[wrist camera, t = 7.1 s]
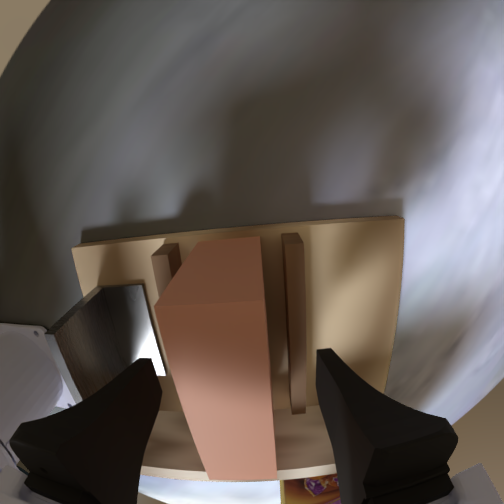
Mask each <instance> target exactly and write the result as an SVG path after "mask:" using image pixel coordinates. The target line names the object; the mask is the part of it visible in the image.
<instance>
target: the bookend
mask: <svg viewBox="0 0 504 504" xmlns="http://www.w3.org/2000/svg"><path fill="white" fill-rule="evenodd" d="M44 336H45V338H46V341H47V343H48V346H49V348H50V351H51V353H52V355H53V358H54V360H55V362H56V364H57V367H58V369H59V371H60V373H61V375H62V377H63V379H64V381H65V383H66V385H67V387H68V389H69V391H70V393H71V395H72V397H73V399H74V401H75V403H76V404H77V403H79V402H81V401H83V400H84V399H86V398H88V397H89V396H91V395H92V394H94V393H95V392H97V391H98V390H99V389H101V388H102V387H104V386H105V385H106V384H108V383H109V382H110V381H111V380H113V379H114V378H115V377H116V376H118V375H119V374H120V373H121V372H122V371H124V370H125V369H126V368H127V367H128V366H130V365H131V364H132V363H133V362H135V361H136V360H137V359H139V358H152V361H153V364H154V367H155V370H156V373H157V376H166V375H167V371H166V368H165V364H164V361H163V358H162V354H161V351H160V347H159V343H158V340H157V336H156V332H155V329H154V325H153V321H152V317H151V313H150V309H149V304H148V300H147V296H146V292H145V287H144V283H138V284H120V285H101V286H96V287H95V288H94V289H93V290H91V291H90V292H89V293H88V294H87V295H86V296H85V297H84V298H82V299H81V300H80V301H79V302H78V303H77V304H76V305H75V306H73V307H72V308H71V309H70V310H69V311H68V312H67V313H66V314H65V315H64V316H63V317H61V318H60V319H59V320H58V321H57V322H56V323H55V324H54V325H53V326H52V327H51V328H50V329H49V330H48V331H46V332H45V333H44Z"/></svg>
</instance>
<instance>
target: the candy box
mask: <svg viewBox="0 0 504 504" xmlns="http://www.w3.org/2000/svg"><path fill="white" fill-rule="evenodd" d="M280 494H281V504H341V500H340V492H339V484H338V478H337V473H335V474H329V475H322V476H315V477H307V478H298V479H288V480H280Z"/></svg>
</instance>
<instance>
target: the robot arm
mask: <svg viewBox="0 0 504 504" xmlns="http://www.w3.org/2000/svg"><path fill="white" fill-rule="evenodd" d="M46 331H47V330H46V329H45V328H44V327H42V326H32V325H19V324H7V323H0V504H137V495H138V486H139V479H140V473H141V467H142V462H143V457H144V453H145V449H146V446H147V443H148V440H149V437H150V435H151V432H152V429H153V426H154V423H155V420H156V418H157V415H158V412H159V408H160V403H161V398H162V393H163V391H162V388H161V385H160V382H159V379H158V376H157V373H156V370H155V367H154V364H153V361H152V358H139V359H137V360H136V361H135V362H133V363H132V364H131V365H130V366H128V367H127V368H126V369H125V370H124V371H122V372H121V373H120V374H119V375H118V376H116V377H115V378H114V379H113V380H111V381H110V382H109V383H108V384H106V385H105V386H104V387H102V388H101V389H99V390H98V391H97V392H95V393H94V394H92V395H91V396H89V397H88V398H86V399H84V400H83V401H81V402H79V403H77V404H76V403H75V401H74V399H73V397H72V395H71V393H70V391H69V389H68V387H67V385H66V383H65V381H64V379H63V377H62V375H61V373H60V371H59V369H58V367H57V364H56V362H55V360H54V358H53V355H52V353H51V351H50V348H49V346H48V343H47V341H46V338H45V336H44V333H45V332H46ZM37 332H38V333H37ZM315 385H316V391H317V397H318V402H319V406H320V409H321V413H322V416H323V419H324V422H325V425H326V429H327V432H328V435H329V438H330V441H331V445H332V449H333V454H334V459H335V465H336V471H337V478H338V484H339V492H340V500H341V504H503V502H502V500H501V498H500V496H499V494H498V492H497V490H496V488H495V487H494V485H493V483H492V481H491V480H490V478H489V476H488V474H487V472H486V470H485V469H484V467H483V465H482V464H481V463H478V464H476V465H474V466H472V467H470V468H468V469H466V470H464V471H462V472H460V473H458V474H456V475H455V476H453V477H452V478H451V479H450V478H449V476H448V472H449V471H450V468H449V466H448V465H447V461H448V460H449V458H450V456H451V455H452V453H453V451H454V449H455V448H456V445H457V443H458V436H457V435H456V433H455V432H454V429H453V428H452V426H451V425H450V423H449V422H448V421H447V419H446V418H442V417H438V416H434V415H430V414H426V413H423V412H420V411H418V410H415V409H412V408H410V407H407V406H405V405H403V404H401V403H399V402H397V401H395V400H393V399H391V398H389V397H387V396H386V395H384V394H383V393H381V392H379V391H378V390H376V389H375V388H374V387H372V386H371V385H370V384H368V383H367V382H366V381H364V380H363V379H362V378H361V377H360V376H359V375H357V374H356V373H355V372H354V371H353V370H352V369H351V368H350V367H349V366H348V365H347V364H346V363H345V362H344V361H343V360H342V359H341V358H340V357H339V356H338V355H337V354H336V353H335V352H334V350H333V349H331V348H325V349H317V350H316V384H315ZM55 406H58V407H62V408H67V409H65V410H63V411H61V412H58V413H56V414H53V415H50V416H48V415H49V414H50V412H51V411H52V409H53V408H54V407H55ZM19 460H21V462H22V463H23V464H24V465H25V466H26V467H27V469H29V471H30V473H29V475H28V476H27V475H25V474H24V473H23V472H21V471H20V470H19V469H18V468H17V467H16V465H17V463H18V461H19Z"/></svg>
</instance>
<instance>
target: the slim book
mask: <svg viewBox="0 0 504 504" xmlns="http://www.w3.org/2000/svg"><path fill="white" fill-rule="evenodd" d="M154 310H155V314H156V318H157V322H158V326H159V330H160V334H161V338H162V341H163V345H164V349H165V352H166V356H167V360H168V363H169V366H170V370H171V373H172V377H173V380H174V383H175V386H176V390H177V393H178V396H179V399H180V402H181V405H182V408H183V411H184V414H185V417H186V420H187V423H188V426H189V428H190V431H191V434H192V437H193V439H194V442H195V445H196V447H197V450H198V453H199V455H200V458H201V460H202V463H203V465H204V468H205V470H206V473H207V475H208V478H209V480H263V479H277V462H276V444H275V427H274V410H273V394H272V379H271V366H270V353H269V340H268V327H267V315H266V303H265V290H264V278H263V266H262V254H261V243H260V236H257V237H245V238H233V239H222V240H211V241H200V242H197V244H196V245H195V247H194V248H193V250H192V251H191V252H190V254H189V255H188V257H187V258H186V260H185V261H184V262H183V264H182V265H181V267H180V268H179V270H178V271H177V273H176V274H175V276H174V277H173V278H172V280H171V281H170V283H169V284H168V286H167V287H166V289H165V290H164V292H163V293H162V295H161V296H160V298H159V299H158V301H157V302H156V304H155V305H154Z"/></svg>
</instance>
